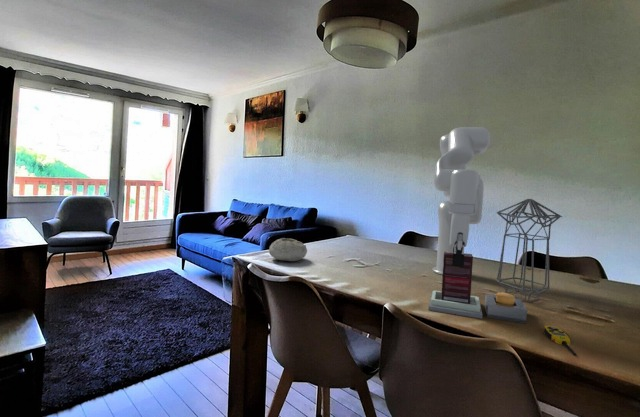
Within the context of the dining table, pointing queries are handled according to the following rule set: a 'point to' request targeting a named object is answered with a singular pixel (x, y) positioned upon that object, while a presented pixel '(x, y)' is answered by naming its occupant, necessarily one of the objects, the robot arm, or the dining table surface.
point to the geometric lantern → (533, 205)
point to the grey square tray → (455, 306)
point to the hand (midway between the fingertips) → (457, 262)
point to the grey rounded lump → (287, 250)
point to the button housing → (505, 310)
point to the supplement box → (457, 279)
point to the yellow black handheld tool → (558, 336)
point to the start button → (505, 298)
